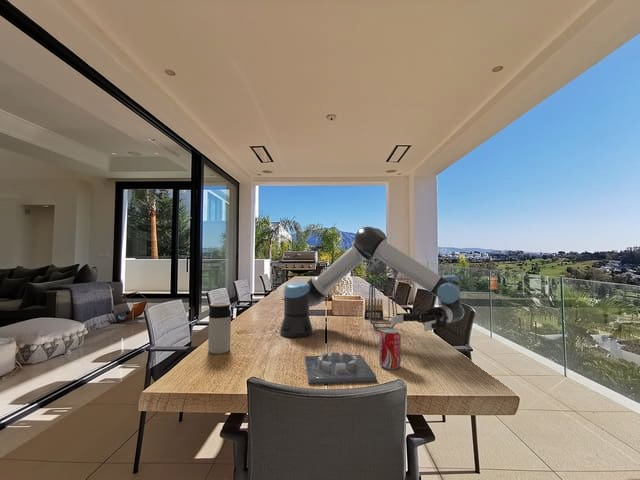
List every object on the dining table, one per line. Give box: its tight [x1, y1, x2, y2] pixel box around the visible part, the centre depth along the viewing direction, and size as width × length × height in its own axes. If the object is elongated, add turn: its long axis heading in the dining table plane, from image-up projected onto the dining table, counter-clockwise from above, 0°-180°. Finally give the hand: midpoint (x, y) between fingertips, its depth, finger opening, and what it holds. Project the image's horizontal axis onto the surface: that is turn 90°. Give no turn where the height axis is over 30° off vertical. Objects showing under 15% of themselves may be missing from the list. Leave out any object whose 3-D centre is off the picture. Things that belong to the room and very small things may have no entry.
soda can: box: [378, 327, 402, 370], centre depth 106 cm, size 7×7×12 cm
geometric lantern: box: [363, 259, 399, 332], centre depth 158 cm, size 16×16×35 cm
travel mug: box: [207, 301, 232, 355], centre depth 121 cm, size 8×8×18 cm
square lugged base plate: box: [304, 351, 377, 385], centre depth 102 cm, size 20×20×4 cm
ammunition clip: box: [363, 297, 384, 320], centre depth 182 cm, size 11×2×12 cm, turn 92°
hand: (407, 323), depth 112 cm, fingers open, 13 cm apart
